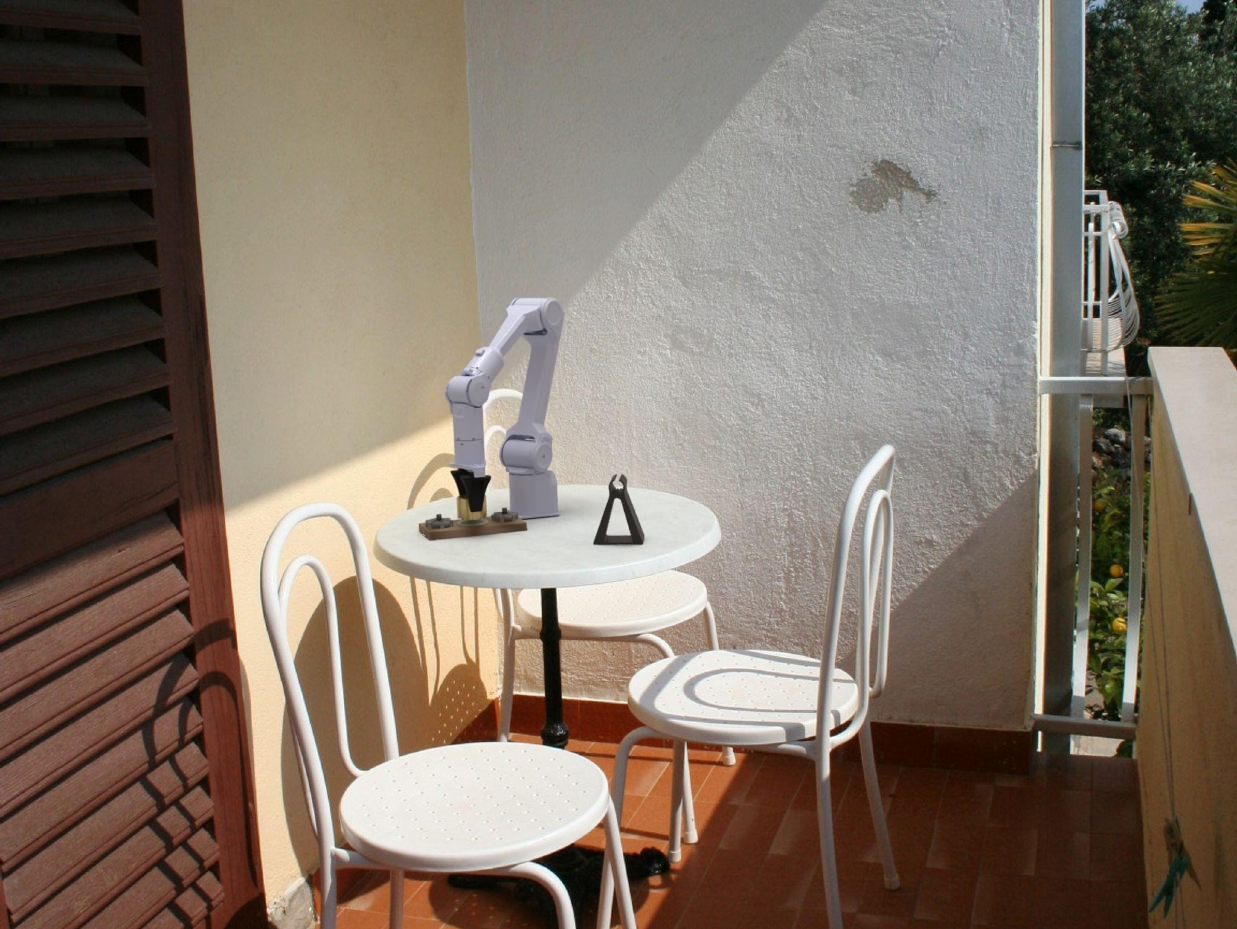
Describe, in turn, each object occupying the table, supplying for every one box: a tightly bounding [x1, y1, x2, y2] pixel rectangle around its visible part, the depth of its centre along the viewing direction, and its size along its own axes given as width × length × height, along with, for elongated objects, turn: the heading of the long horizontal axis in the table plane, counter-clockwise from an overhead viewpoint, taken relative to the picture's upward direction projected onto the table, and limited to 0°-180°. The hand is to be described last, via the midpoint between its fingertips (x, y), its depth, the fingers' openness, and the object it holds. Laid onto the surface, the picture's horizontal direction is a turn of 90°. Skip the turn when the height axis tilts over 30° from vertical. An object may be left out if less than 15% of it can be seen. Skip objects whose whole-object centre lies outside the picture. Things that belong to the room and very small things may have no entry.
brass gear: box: [456, 494, 488, 520], centre depth 236 cm, size 6×6×4 cm
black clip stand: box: [593, 473, 645, 546], centre depth 225 cm, size 9×6×12 cm, turn 85°
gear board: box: [418, 507, 528, 541], centre depth 236 cm, size 19×9×5 cm, turn 112°
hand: (471, 508), depth 236 cm, fingers closed on brass gear, 6 cm apart
